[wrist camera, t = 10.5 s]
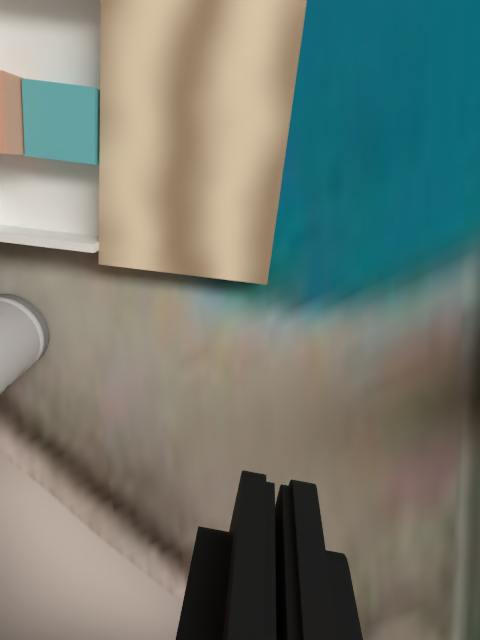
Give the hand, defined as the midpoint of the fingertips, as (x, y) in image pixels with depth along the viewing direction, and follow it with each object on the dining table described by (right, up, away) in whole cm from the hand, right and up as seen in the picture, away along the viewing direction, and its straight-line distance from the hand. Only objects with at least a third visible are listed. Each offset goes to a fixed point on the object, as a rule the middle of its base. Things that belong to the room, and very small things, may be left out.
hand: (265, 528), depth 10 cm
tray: (-14, +18, +21) cm, 31 cm away
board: (-3, +17, +21) cm, 27 cm away
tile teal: (-12, +18, +20) cm, 30 cm away
